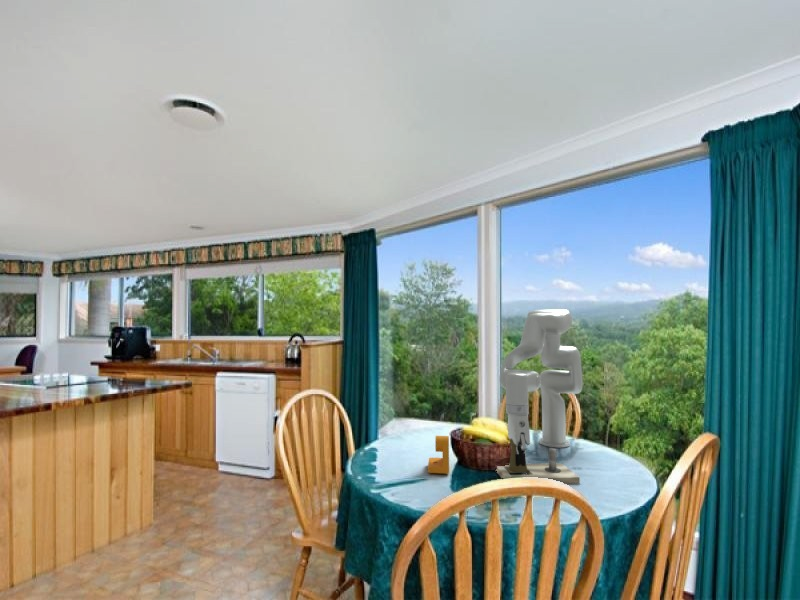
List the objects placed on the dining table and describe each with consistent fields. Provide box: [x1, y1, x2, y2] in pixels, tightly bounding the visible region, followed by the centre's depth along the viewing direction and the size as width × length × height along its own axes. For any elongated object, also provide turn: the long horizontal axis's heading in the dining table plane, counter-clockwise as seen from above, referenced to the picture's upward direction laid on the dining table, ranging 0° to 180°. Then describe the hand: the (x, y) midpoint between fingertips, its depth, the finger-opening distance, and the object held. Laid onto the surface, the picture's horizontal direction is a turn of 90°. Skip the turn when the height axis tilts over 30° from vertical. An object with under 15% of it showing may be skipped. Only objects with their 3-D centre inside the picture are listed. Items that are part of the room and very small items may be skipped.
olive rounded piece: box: [508, 439, 527, 474], centre depth 146 cm, size 6×6×11 cm
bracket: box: [427, 435, 450, 474], centre depth 153 cm, size 11×7×12 cm, turn 174°
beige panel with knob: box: [495, 447, 581, 485], centre depth 146 cm, size 14×24×9 cm, turn 92°
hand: (518, 462), depth 146 cm, fingers closed on olive rounded piece, 4 cm apart
